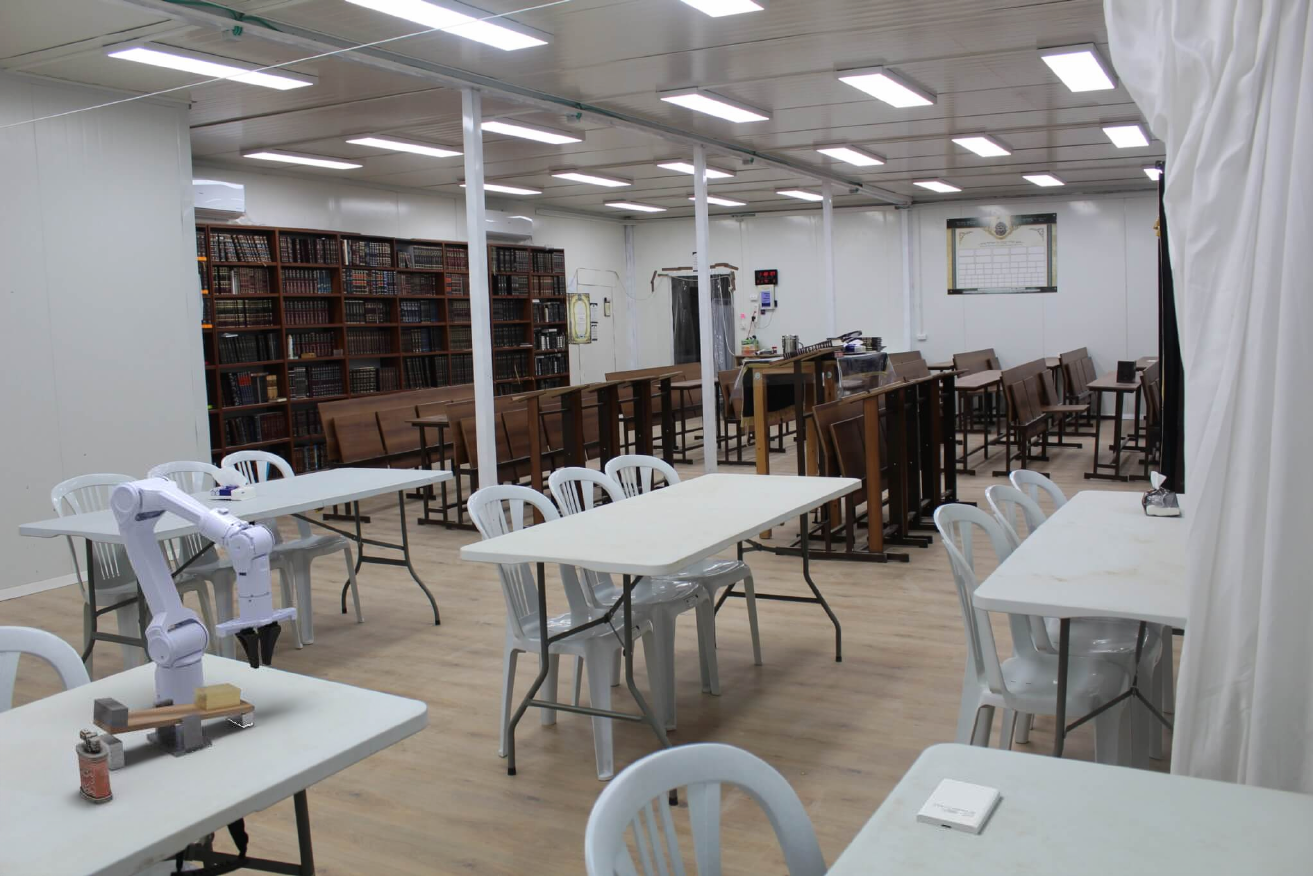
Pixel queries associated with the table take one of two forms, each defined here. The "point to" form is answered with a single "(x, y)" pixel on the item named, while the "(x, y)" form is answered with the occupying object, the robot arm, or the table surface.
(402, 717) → the table surface
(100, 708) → the beam
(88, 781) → the lighter
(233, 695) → the block
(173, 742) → the stand
